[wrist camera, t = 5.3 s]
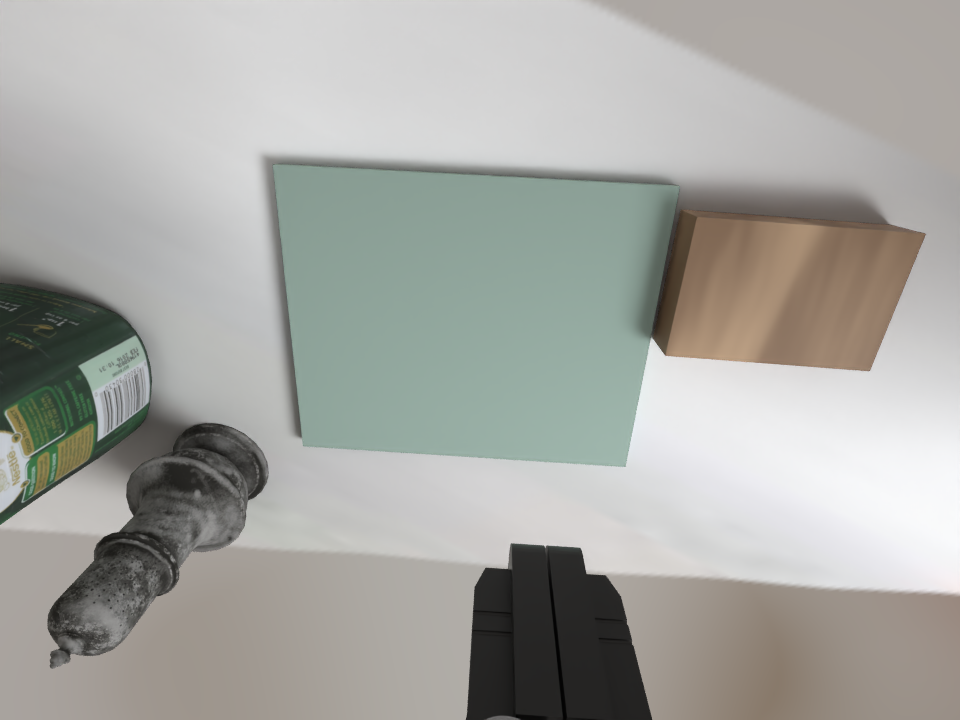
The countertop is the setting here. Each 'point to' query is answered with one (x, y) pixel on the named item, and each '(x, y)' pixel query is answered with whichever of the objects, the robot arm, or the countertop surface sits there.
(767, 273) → the slab
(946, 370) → the countertop surface
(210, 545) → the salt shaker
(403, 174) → the mat
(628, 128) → the countertop surface
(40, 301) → the coffee jar
